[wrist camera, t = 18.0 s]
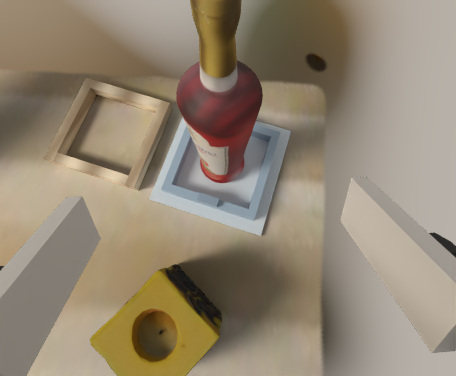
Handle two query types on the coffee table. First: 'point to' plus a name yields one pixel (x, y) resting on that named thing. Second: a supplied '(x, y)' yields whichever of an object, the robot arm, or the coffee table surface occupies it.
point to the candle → (160, 328)
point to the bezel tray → (224, 192)
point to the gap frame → (77, 116)
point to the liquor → (219, 92)
